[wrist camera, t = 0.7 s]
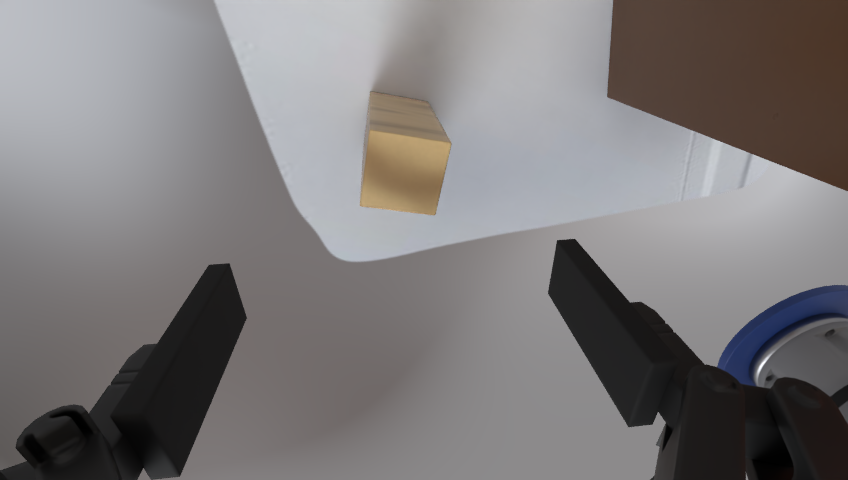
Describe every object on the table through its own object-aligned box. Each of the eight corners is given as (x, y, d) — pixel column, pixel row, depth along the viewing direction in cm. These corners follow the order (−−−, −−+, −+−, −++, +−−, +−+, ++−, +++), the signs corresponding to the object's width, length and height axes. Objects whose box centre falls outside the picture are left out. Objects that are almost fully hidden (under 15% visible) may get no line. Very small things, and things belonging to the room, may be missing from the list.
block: (417, 156, 37) (435, 215, 26) (363, 148, 36) (359, 206, 26) (428, 101, 34) (452, 142, 24) (370, 91, 33) (369, 129, 23)
